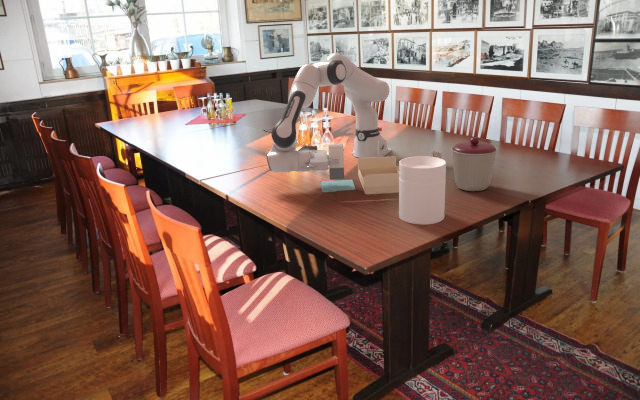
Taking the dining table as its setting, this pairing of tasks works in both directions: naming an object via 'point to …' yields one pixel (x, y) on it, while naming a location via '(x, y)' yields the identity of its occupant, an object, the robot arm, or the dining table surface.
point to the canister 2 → (473, 164)
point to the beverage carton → (308, 148)
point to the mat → (337, 185)
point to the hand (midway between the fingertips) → (338, 159)
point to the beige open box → (378, 175)
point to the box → (338, 153)
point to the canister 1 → (422, 189)
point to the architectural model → (436, 154)
